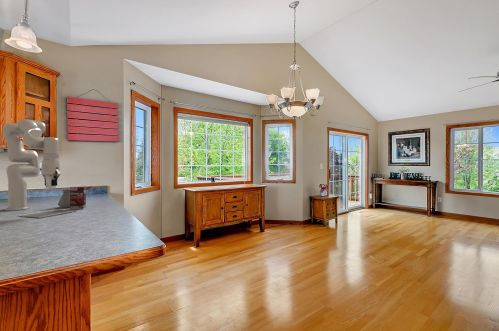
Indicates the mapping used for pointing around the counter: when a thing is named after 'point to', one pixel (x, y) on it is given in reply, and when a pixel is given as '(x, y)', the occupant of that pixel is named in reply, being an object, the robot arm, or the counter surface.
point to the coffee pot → (66, 199)
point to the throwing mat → (46, 214)
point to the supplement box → (77, 198)
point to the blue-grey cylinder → (49, 181)
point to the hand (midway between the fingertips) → (51, 185)
